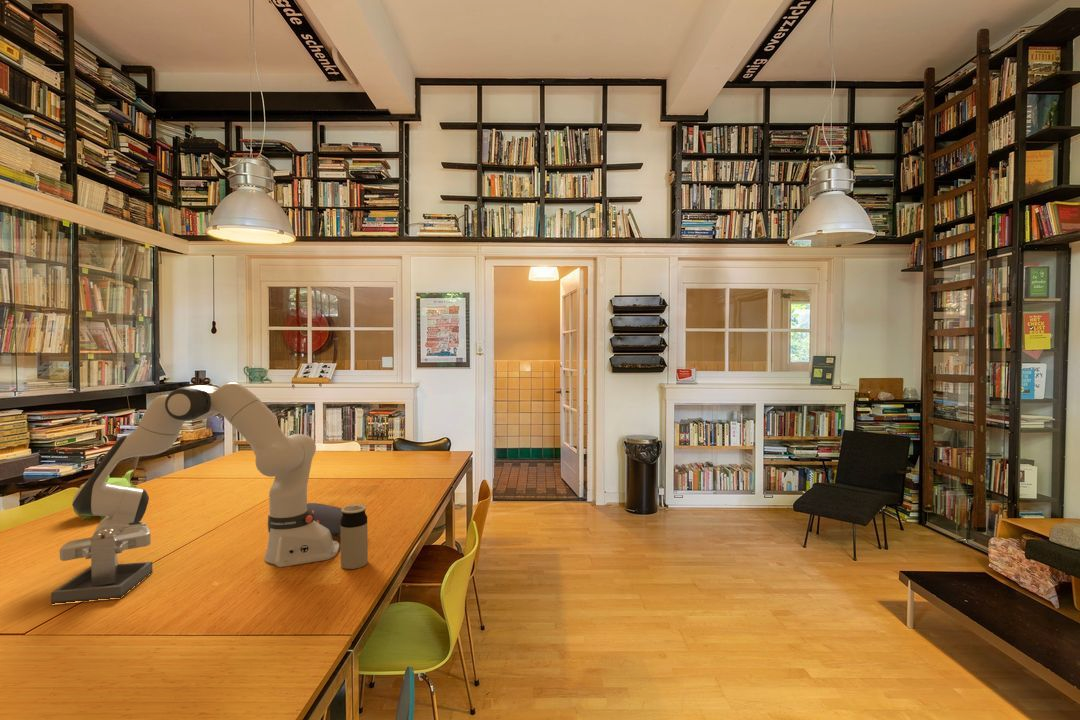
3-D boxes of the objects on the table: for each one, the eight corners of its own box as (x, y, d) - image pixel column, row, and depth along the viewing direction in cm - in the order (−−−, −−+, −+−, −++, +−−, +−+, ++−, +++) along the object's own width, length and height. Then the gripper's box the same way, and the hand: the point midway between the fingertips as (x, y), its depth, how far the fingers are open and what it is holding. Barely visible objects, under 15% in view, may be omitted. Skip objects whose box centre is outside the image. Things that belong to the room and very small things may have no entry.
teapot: (114, 524, 193) (113, 483, 192) (59, 524, 193) (58, 483, 193) (164, 503, 218) (163, 467, 217) (115, 503, 218) (114, 467, 218)
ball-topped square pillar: (117, 575, 145) (116, 525, 145) (115, 582, 141) (114, 530, 141) (94, 580, 143) (93, 529, 142) (91, 587, 139) (90, 534, 138)
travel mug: (358, 571, 153) (358, 513, 153) (335, 568, 155) (335, 511, 154) (372, 560, 161) (372, 504, 160) (350, 558, 162) (349, 503, 162)
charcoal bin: (152, 572, 152) (152, 561, 152) (121, 599, 136) (120, 586, 136) (90, 578, 148) (90, 566, 148) (51, 605, 132) (50, 592, 132)
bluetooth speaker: (297, 531, 185) (296, 505, 185) (318, 523, 194) (318, 498, 193) (339, 543, 175) (339, 515, 174) (360, 534, 183) (360, 507, 183)
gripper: (64, 534, 146) (53, 550, 135) (152, 520, 158) (148, 534, 147) (64, 556, 147) (53, 573, 135) (152, 540, 158) (149, 555, 147)
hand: (104, 553), depth 141 cm, fingers closed on ball-topped square pillar, 5 cm apart
